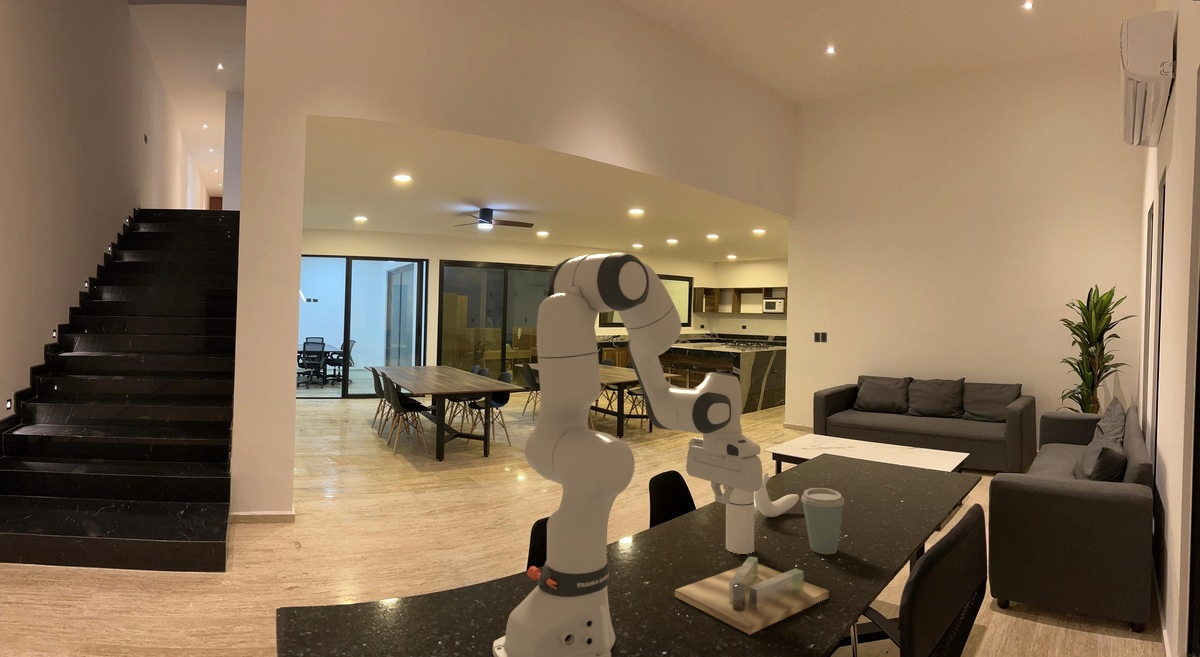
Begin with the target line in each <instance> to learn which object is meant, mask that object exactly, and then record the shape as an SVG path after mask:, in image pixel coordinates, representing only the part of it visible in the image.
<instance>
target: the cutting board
mask: <svg viewBox="0 0 1200 657" xmlns="http://www.w3.org/2000/svg"><path fill="white" fill-rule="evenodd" d="M741 566H742V565H741ZM741 566H738V567H736V568H732V569H730V570H726V571H723V572H721V573H719V574H716V575H713V576H710V577H707V578H704V579H702V580H699V581H695V582H692V583H690V584H687V585H685V586H682V587H679V588H676V589H674V597H675V598H676V599H679V600H680V601H683V602H685V603H686V604H688V605H690V606H692V607H694V608H697V609H699V610H701V611H702V612H704V613H706V614H708V615H710V616H712V617H714V618H715V619H718V620H720V621H722V622H724V623H726V624H728V625H729V626H732V627H733V628H736V629H738V630H740V631H741V632H744V633H746V634H748V635H749V636H750V635H752V634H754V633H757V632H758V631H761V630H762V629H764V628H767V627H768V626H772V625H773V624H776V623H777V622H779V621H780V622H781V621H782V620H784V619H786V618H788V617H791V616H793V615H795V614H797V613H799V612H801V611H804V610H805V609H808V608H811V607H812V606H814V604H815V605H816V603H817V604H819V603H821V602H823V601H825V600H828V599H829V598H830V593H829V592H830V591H829V590H828V589H825V588H822V587H819V586H817V585H815V584H812V583H810V582H807V581H804V580H803V590H802V591H800V592H798V593H795V594H793V595H791V596H788V597H786V598H784V599H781V600H779V601H777V602H774V603H772V604H770V605H767V606H765V607H763V608H760V609H758V610H756V609H753V608H751V607H749V589H748V591H747V592H746V594H745V610H744V611H736V610H734V609H733V608H732V602H729V582H730V580H731V579H732V578H733V576H734V575H735V574H736V573H737V571H738V570H739V569H740V567H741ZM782 573H783V572H781V571H779V570H776V569H773V568H771V567H768V566H765V565H763V564H761V563H758V576H757V577H756V579H755V580H754V582H753V583H752V585H754V584H757V583H759V582H762V581H764V580H767V579H769V578H772V577H775V576H777V575H780V574H782ZM822 600H823V601H822ZM820 601H821V602H820ZM818 602H819V603H818ZM803 609H804V610H803Z"/></svg>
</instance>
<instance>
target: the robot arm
mask: <svg viewBox="0 0 1200 657" xmlns="http://www.w3.org/2000/svg"><path fill="white" fill-rule="evenodd" d="M547 281H548V282H547V292H546V298H545V299H544V300H542V302H541V303H540V305H539V307H538V311H537V320H536V321H537V322H536V351H537V352H536V353H537V354H536V355H537V364H538V366H537V367H538V377H539V389H540V391H539V394H540V398H539V400H540V401H539V409H538V417H537V421H536V425H535V428H534V429H533V430H532V431H531V432H530V434H529V435H528V437H527V440H526V442H525V448H524V455H525V459H526V462H527V464H528V466H529V467H530V468H531V469H533V471H535V472H536V473H537V474H538V475H539V476H541V477H542V478H544V479H546V480H548V481H550V482H551V481H552V482H554V483H557V484H560V485H561V486H562V497H561V501H560V504H559V506H558V509H557V510H556V511H554V512H553V513H551V515H550V516H549V518H548V520H547V523H546V560H545V562H544V564H543V567H542V570H541V569H539V568H537V567H536V566H534V565H532V566H530V567H529V568H528V570H527V576H528V577H529V578H530V579H532V580H534V581H538V582H537V584H538V585H536V586H535V588H534V589H533V590H532V591H530V593H529V594H528V595H527V596H526V597H525V599H523V600H522V601H521V602H520V603H519V604H518V605H517V606H516V607H515V608H514V609H513V610H512V611H511V612H510V614H509V617H508V618H507V619H508V620H507V622H506V628H505V629H506V630H505V635H503V636H501V637H499V638H498V639H495V640H494V641H493V645H492V655H493V657H612V652H611V650H612V648H613V647H614V645H615V643H616V634H615V631H614V627H613V624H612V619H611V612H610V605H609V596H608V592H609V591H608V584H609V583H610V562H609V560H608V559H607V556H608V555H607V552H608V551H607V550H608V549H607V548H608V547H607V546H608V527H609V526H608V523H609V517H610V513H611V511H612V507H613V505H614V503H615V500H616V498H617V497H619V495H620V494H621V493H623V492H624V491H625V490H626V489H627V488H628V486H629V485H630V483H631V481H632V480H633V478H634V473H635V467H636V466H635V464H636V462H635V456H634V453H633V451H632V449H631V448H630V447H629V446H628V444H626V443H625V442H623V441H622V440H620V439H619V438H617V437H615V436H613V435H611V434H610V433H608V432H602V431H598V430H594V429H593V430H592V429H590V428H589V422H588V420H589V414H590V409H591V406H592V404H593V403H595V401H597V400H598V399H599V397H600V395H601V391H602V385H601V372H600V362H599V361H600V360H599V351H598V341H597V334H596V329H595V326H596V321H597V318H598V315H599V314H600V313H611V312H615V311H617V313H618V314H619V317H620V320H621V321H622V324H623V325H624V327H625V329H626V331H627V335H628V342H627V349H628V350H627V351H628V355H629V359H630V362H631V364H632V367H633V370H634V372H635V376H636V378H637V381H638V384H639V386H640V389H641V390H642V394H643V397H644V400H645V408H646V413H647V416H648V419H649V421H650V422H651V424H652V425H653V426H654V427H655V428H657V429H660V430H667V431H668V430H669V431H674V430H675V431H680V432H686V433H694V434H700V435H702V438H700V437H693V438H692V439H690V441H689V442H688V450H687V458H686V465H685V466H686V468H685V471H686V473H687V474H688V476H689V477H692V478H693V477H694V478H696V479H701V480H704V481H707V482H710V487H711V489H712V492H713V494H714V501H715V502H716V503H720V504H723V505H726V504H729V502H730V495H731V493H732V491H733V490H734V488H737V489H740V490H744V491H748V492H754V493H755V491H757V490H759V489H760V488H761V487H762V480H763V465H762V460H761V459H760V457H759V456H758V455H760V454H761V449H762V448H761V446H760V445H759V444H758V443H756V442H755V441H752V440H751V439H750V438H748V437H747V436H745V435H744V434H742V432H743V428H742V424H741V416H742V408H743V407H742V404H743V402H742V389H741V385H740V384H741V383H740V381H739V378H738V377H737V376H736V375H734V374H731V373H726V372H725V373H724V372H719V371H717V372H715V371H710V372H707V373H706V374H705V375H704V376H705V377H704V380H703V381H702V382H701V383H700V384H699V385H697V386H694V388H685V387H678V386H675V385H673V384H671V383H669V381H667V379H666V376H665V373H664V370H663V367H662V364H661V361H660V358H659V356H660V355H663V354H664V353H665V352H666V351H669V349H671V348H672V347H673V346H674V345H675V343H676V342H677V340H678V339H679V336H680V334H681V331H682V322H681V317H680V314H679V312H678V309H677V307H676V306H675V303H674V301H673V298H672V297H671V295H670V293H669V292H668V290H667V288H666V287H665V284H664V283H663V282H662V280H661V279H660V278H659V276H658V274H657V273H656V272H655V271H654V269H653V268H652V267H651V266H650V265H649V264H646V263H644V262H643V261H641V260H640V258H638V257H637V256H635V255H633V254H630V253H627V252H617V251H616V252H612V253H589V254H585V255H581V256H576V257H570V258H567V259H564V260H562V261H561V262H559V263H557V264H556V265H554V267H553V268H552V270H551V272H550V274H549V277H548V280H547ZM721 486H722V488H721ZM722 489H723V491H724V492H723V491H722Z"/></svg>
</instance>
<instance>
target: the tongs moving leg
mask: <svg viewBox="0 0 1200 657" xmlns="http://www.w3.org/2000/svg"><path fill="white" fill-rule="evenodd" d="M758 564H759V560H758V557H756V556H750V555H749V556H748V557H747V558H746V559H745V561H743V564H741V567H740V566H739V567H740V569H739V570H738V571H737V573H736V574H735V575H734V576H733V578H732V579H731V580H730V582H729V602H732V608H733V609H734V610H736V611H744V610H745V594H746V592H747V591H748V589H749V586H751V585H752V583H753V582H754V580H755V579H756V577H757V576H758Z"/></svg>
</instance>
